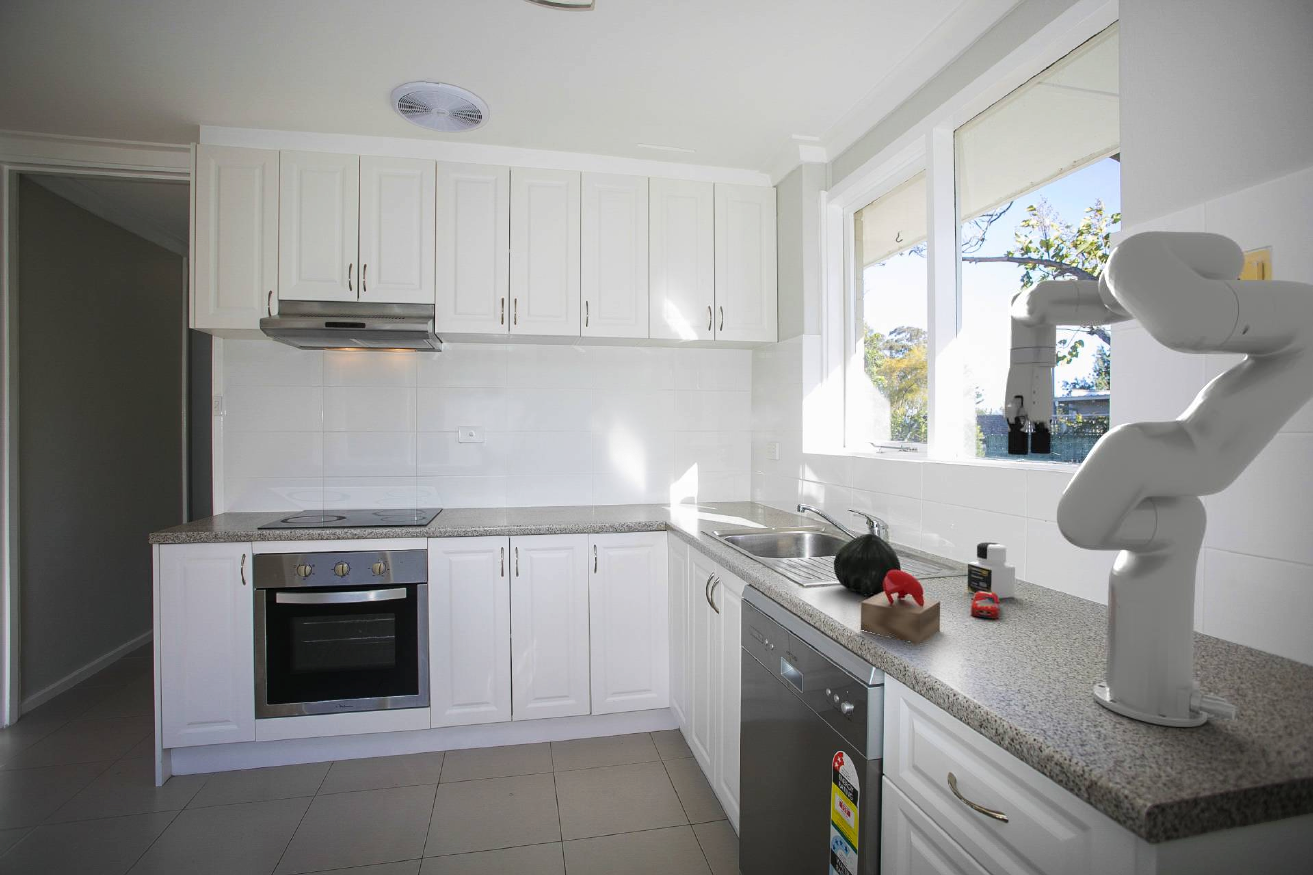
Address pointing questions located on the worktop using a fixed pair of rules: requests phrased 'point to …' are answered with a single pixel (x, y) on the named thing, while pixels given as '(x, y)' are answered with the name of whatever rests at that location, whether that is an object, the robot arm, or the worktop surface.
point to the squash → (865, 564)
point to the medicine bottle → (991, 571)
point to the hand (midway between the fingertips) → (1029, 454)
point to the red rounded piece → (902, 586)
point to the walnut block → (900, 617)
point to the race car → (985, 605)
